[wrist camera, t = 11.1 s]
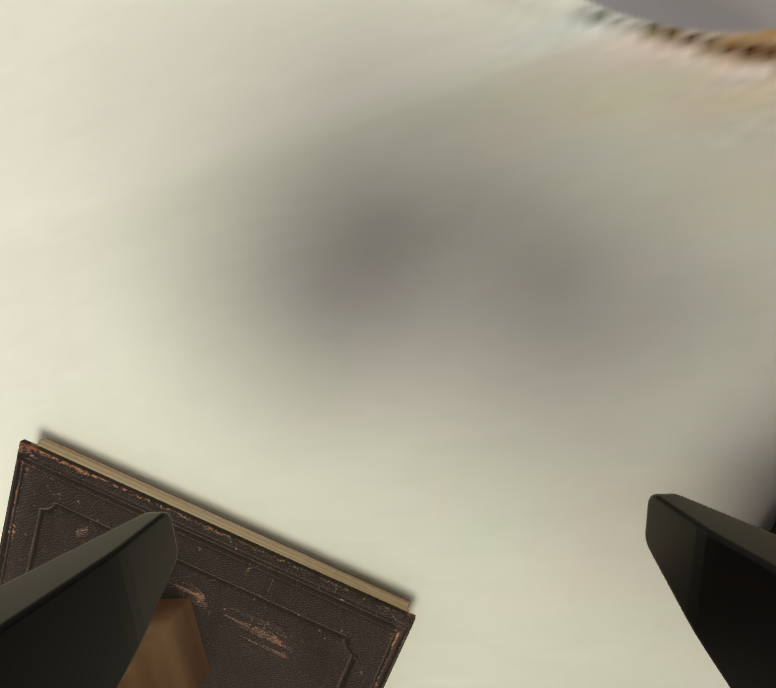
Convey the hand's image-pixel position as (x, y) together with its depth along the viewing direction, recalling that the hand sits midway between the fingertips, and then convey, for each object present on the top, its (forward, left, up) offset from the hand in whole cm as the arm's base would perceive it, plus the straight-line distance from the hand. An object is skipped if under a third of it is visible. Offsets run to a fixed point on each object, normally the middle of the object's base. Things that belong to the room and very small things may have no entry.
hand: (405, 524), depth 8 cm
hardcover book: (+10, +19, -14) cm, 26 cm away
